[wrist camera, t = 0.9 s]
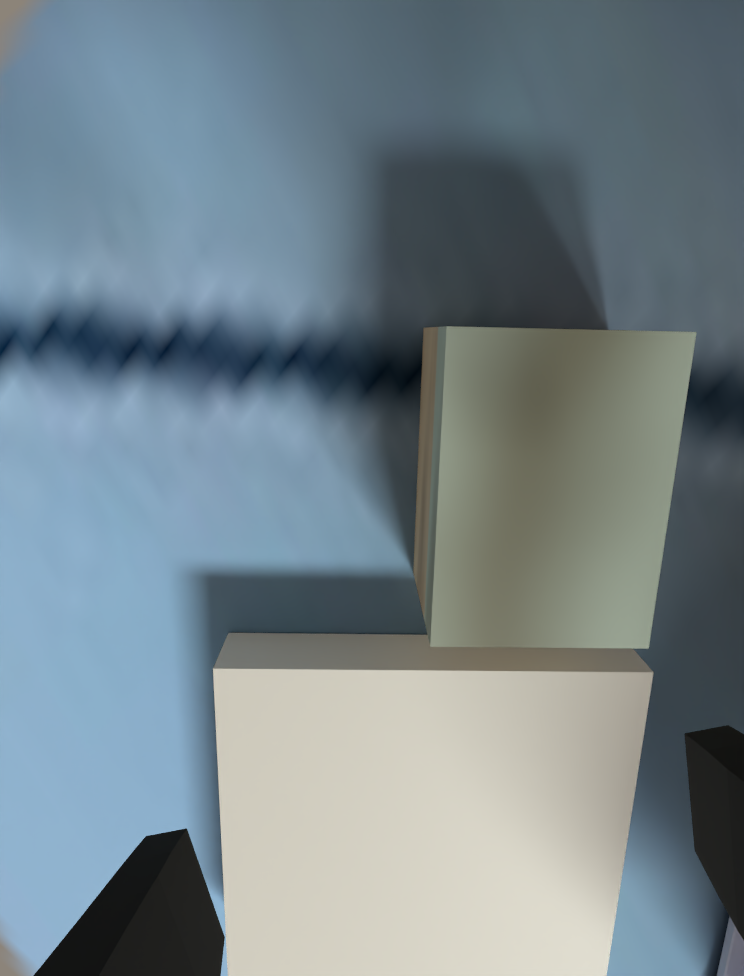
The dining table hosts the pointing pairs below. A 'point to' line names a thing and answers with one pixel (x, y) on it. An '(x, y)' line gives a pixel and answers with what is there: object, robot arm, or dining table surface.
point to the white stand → (423, 804)
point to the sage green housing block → (546, 483)
